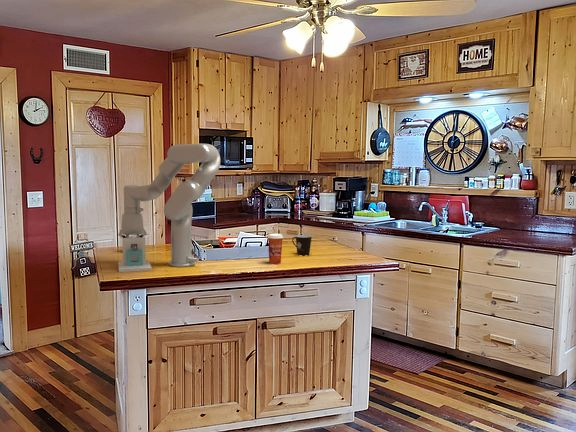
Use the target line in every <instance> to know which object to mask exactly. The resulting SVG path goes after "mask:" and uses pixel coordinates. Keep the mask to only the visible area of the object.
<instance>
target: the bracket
mask: <svg viewBox="0 0 576 432" xmlns="http://www.w3.org/2000/svg"><path fill="white" fill-rule="evenodd" d="M121 239H122V260H121V261H117V263H118V272H119V273H127V272H129V273H130V272H131V273H132V272H146V271H147V272H148V271H153V270H152V269H153V268H152V265H151V263H150V260H149V259H146V237H145V236H144V237H140V238H122V237H121ZM131 244H137V250H142V258H143V265H139V266H127V260H126V250H132V249H131ZM130 258H131V261H138V254H131V255H130Z"/></svg>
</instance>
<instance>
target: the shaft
mask: <svg viewBox="0 0 576 432" xmlns="http://www.w3.org/2000/svg"><path fill="white" fill-rule="evenodd" d="M134 238H136V237H134ZM131 248H132V250H133V251H136V250H137V244H131Z"/></svg>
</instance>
